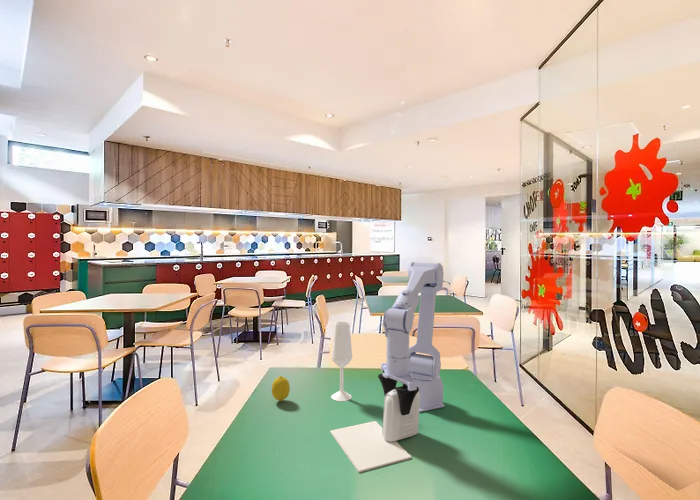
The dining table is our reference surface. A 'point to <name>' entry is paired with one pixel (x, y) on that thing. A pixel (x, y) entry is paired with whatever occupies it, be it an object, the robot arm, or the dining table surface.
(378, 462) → the mat
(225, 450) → the dining table surface
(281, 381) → the lemon
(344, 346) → the champagne flute
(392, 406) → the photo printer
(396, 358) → the robot arm
